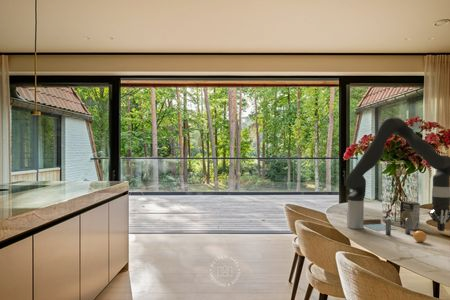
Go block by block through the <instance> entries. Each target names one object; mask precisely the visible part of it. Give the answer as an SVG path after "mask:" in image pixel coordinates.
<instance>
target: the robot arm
mask: <svg viewBox="0 0 450 300" xmlns="http://www.w3.org/2000/svg"><path fill="white" fill-rule="evenodd" d="M392 135H397V136H399V137H401V138H402V139H404V140H405V141H406V142H407V143H408V145H409V146H410V148H411V150H413V151H414V152H415V153H416V154H418V155H419V156H420V157H422V158H423V159H424V160H425V162H426V163H427V164H428V165H429V166H430V167H431V168H433V169H435V170H436V173H435V174H434V175H433V176H432V190H431V204H432V205H433V206H432V210H431V211H428V215H429V216H430V218H431V219H432V221H433V222H434V223H437V231H438V232H445V229H446V228H445V227H446V223H449V221H450V156H449V155H446V154H439V153H437V152H436V148H435V147H434V146H433V145H431V144H430V143H428V142H427V141H426V140H424V139H423V138H422V137H421V136H419V135H418V134H417V133H416V132H415V131H413V129H412V128H411V127H410V126H409V125H408V124H407V123H406V122H405V121H404V120H403V119H402V118H399V117H387V118H385V119H384V120H383V121H382V123H381V124H380V126H379V128H378V130H377V133H376V134H375V136H374V138H373V139H372V141H371V142H370V143H369V146H367V148H366V149H365V151H364V153H363V154H362V156H361V157H360V159H359V160H358V162H357V163H356V165H355V166H354V168H353V169H352V170H351V171H350V172H349V174H348V175H347V176H346V178H345V184H344V185H345V187H346V188H347V189H348V190H352V192H351V193H350V194H348V195H347V213H346V214H347V215H346V226H347V227H348V228H350V229H353V230H361V229H362V230H363V229H364V226H363V225H364V224H363V223H364V216H365V214H364V211H365V203H364V201H365V196H366V189H367V186H366V185H367V183H366V177H365V176H364V175H365V174H367V172H369V171H370V170H372V169H373V168H374V167H375V166H376V165H378V163H379V162H380V160H381V159H382V157H383V155H384V153H385V146H386V143H387V141H388V140H389V139H390V138H391V136H392Z"/></svg>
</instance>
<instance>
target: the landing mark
mask: <svg viewBox="0 0 450 300" xmlns="http://www.w3.org/2000/svg"><path fill="white" fill-rule="evenodd" d="M363 227H366V228H368V229H371V230H374V231H377V232H378V231H386V224H385V225H384V224H382V223H376V224H363ZM396 230H397V228H393V227H391V231H396Z"/></svg>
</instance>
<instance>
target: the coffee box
mask: <svg viewBox="0 0 450 300" xmlns="http://www.w3.org/2000/svg"><path fill="white" fill-rule="evenodd" d="M399 208H400V209H399V210H400V211H399V212H400V214H399V215H400V216H399V219H400V220H399V221H400V223H399V227H400V226H402V228H404V227H405V224H406V218H410V219H411V230H420V216H421V215H420V211H421V209H420V208H421V203H418V202H413V201H408V200H405V201H403V200H402V201H400V206H399Z"/></svg>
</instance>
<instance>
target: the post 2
mask: <svg viewBox="0 0 450 300" xmlns="http://www.w3.org/2000/svg"><path fill="white" fill-rule="evenodd" d="M404 230H405V231H404V232H405V234H406V235H411V232H412V231H411V230H412V229H411V219H410V218H406V224H405V228H404Z"/></svg>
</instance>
